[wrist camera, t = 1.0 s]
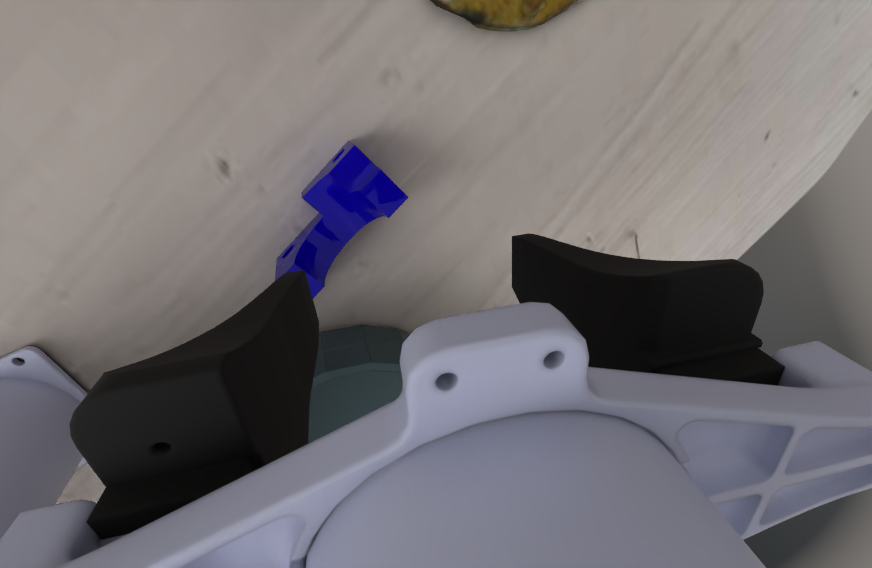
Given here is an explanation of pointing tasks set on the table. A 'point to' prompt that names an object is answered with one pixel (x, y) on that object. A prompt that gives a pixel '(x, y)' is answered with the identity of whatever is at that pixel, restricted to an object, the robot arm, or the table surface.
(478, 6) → the seal
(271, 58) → the table surface
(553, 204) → the table surface
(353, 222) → the cable holder
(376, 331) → the bowl
